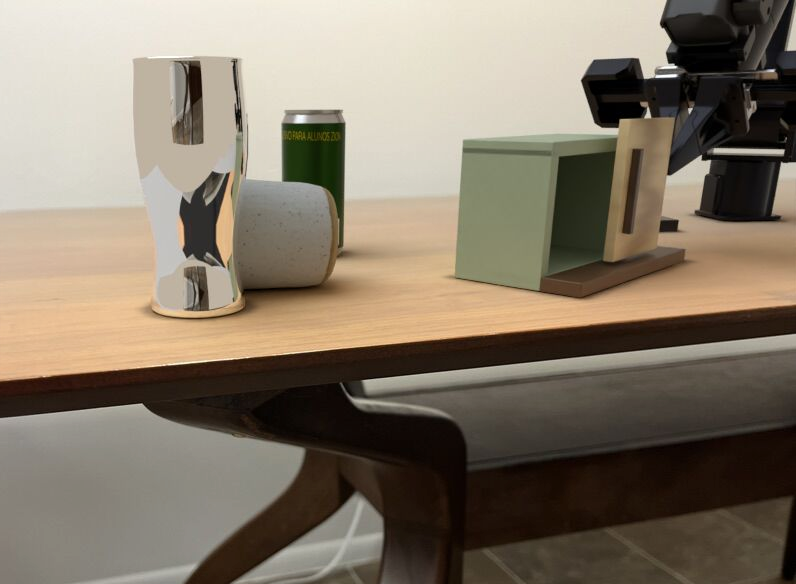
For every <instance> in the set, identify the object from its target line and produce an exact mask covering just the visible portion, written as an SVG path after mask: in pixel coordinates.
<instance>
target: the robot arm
mask: <svg viewBox="0 0 796 584" xmlns="http://www.w3.org/2000/svg"><path fill="white" fill-rule="evenodd" d="M795 13H796V0H666V1H665V5H664V7H663V11H662V14H661V18H660V20H659V26H660V28H661V29H664V31H665V33H666V34H667V36H668V38H669V40H670V42H669V45H668V47H667V49H666V51H665V56H666V61H667V64H668V65H658V66H656V67H655V69H654V76H653V77H649V78H645V77H644V73H643V69H642V65H641V61H640V58H639V57H619V58H597V59H593V60H591V62H590V64H589V65H588V66H587V68H586V70H585V72H584V73H583V76H582V77H581V79H580V82H581V86H582V89H583V92H584V95H585V98H586V101H587V104H588V108H589V111H590V114H591V117H592V120H593V123H594V124H595V125H596V126H598V127H600V128H601V129H619V122H620V119H640V118H646V115H647V113H648V110H649V115H650V118H675V121H674V128H673V135H672V143H671V150H670V157H669V164H668V171H667V177H670V176H671V177H672V176H673V175H674V174H675V173H677V172H679V171H680V170H681V169H683V168H685V167H686V166H688V165H689V164H690V163H692V162H693V161H695V160H696V159H698V158H699V157H700V156H701V162H707V161H710V163H709V170H708V173H706V174H705V175H704V177H703V178H704V179H703V186H702V190H701V191H702V192H701V198H700V204H699V209H694V213H693V214H695V215H699V216H703V217H708V218H712V219H715V220H716V219H717V220H721V221H726V222H727V221H734V222H735V221H737V222H738V221H778V220H779V221H780V220H782V215H781V214H776V213H773V211H774V205H775V200H776V194H777V189H778V183H779V178H780V173H781V172H780V171H781V167H782V164H791V163H792V164H793V163H796V49H795V50H788V47H789V43H790V38H791V33H792V27H793V23H794V18H795ZM690 109H691V111H690V112H689V110H690ZM715 149H731V150H732V149H734V150H735V149H737V150H777V151H778V150H779V151H780V150H781V151H782V150H783V153H754V152H753V153H752V152H715Z"/></svg>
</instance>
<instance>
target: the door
mask: <svg viewBox="0 0 796 584" xmlns="http://www.w3.org/2000/svg"><path fill="white" fill-rule="evenodd" d="M674 121H675V118H651V117H644V118H640V119H620V122H619V128H618V131H617V135H618V139H617V147H616V156H615V164H614V172H613V181H612V189H611V197H610V206H609V214H608V222H607V231H606V239H605V247H604V256H603V261H607V262H615V261H619V260H622V259H625V258H628V257H631V256H635V255H638V254H641V253H644V252H648V251H651V250H654V249H657V246H658V240H659V233H660V232H659V228H660V221H661V216H662V213H663V205H664V198H665V192H666V184H667V177H668V176H667V171H668V164H669V157H670V150H671V143H672V135H673V128H674Z"/></svg>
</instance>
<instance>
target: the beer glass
mask: <svg viewBox="0 0 796 584" xmlns="http://www.w3.org/2000/svg"><path fill="white" fill-rule="evenodd" d="M131 65H132V82H131V83H132V84H131V119H132V121H131V122H132V138H133V147H134V148H133V149H134V158H135V163H136V168H137V174H138V179H139V184H140V188H141V192H142V197H143V201H144V205H145V210H146V214H147V219H148V223H149V227H150V232H151V237H152V244H153V251H154V252H153V253H154V271H153V272H154V273H153V283H152V290H151V299H150V304H151V305H150V307H151V309H152V311H153V312H155V313H156V314H159V315H161V316H165V317H171V318H180V319H181V318H184V319H201V318H202V319H203V318H214V317H215V318H216V317H221V316H226V315H231V314H234V313H237V312H239V311H241V310H243V309H244V308H245V306H246V296H245V291H244V290H245V289H243V285H242V281H241V276H240V270H239V264H238V233H239V225H240V217H241V210H242V203H243V196H244V189H245V182H246V179H247V172H248V161H249V117H248V102H247V92H246V83H245V72H244V59H243V58H241V57H234V56H233V57H232V56H213V55H209V56H208V55H169V56H168V55H167V56H166V55H165V56H163V55H162V56H144V57H135V58H133V59H131Z"/></svg>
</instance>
